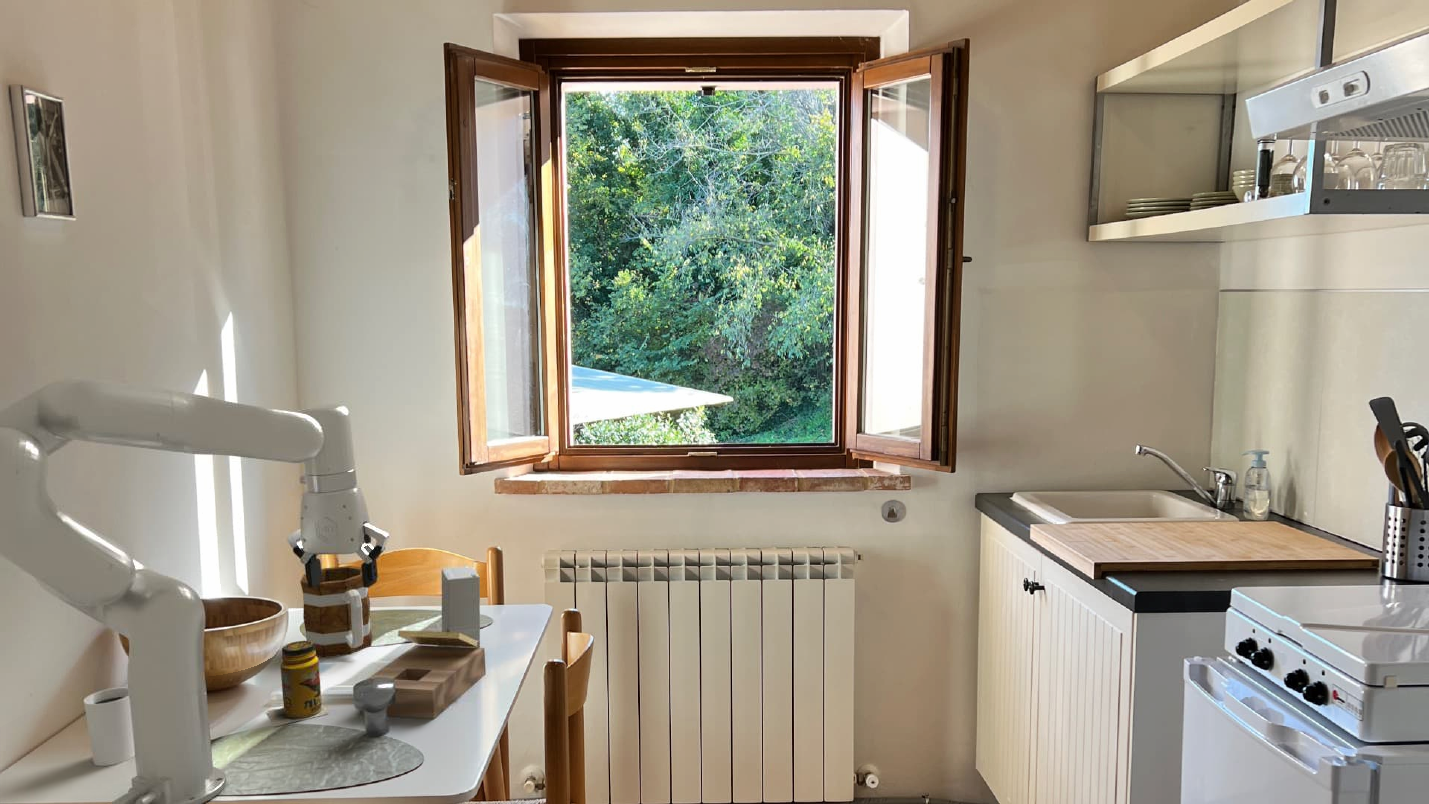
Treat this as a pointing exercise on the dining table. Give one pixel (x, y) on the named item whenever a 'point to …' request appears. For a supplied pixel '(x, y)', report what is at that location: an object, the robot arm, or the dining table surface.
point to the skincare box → (461, 602)
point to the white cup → (110, 726)
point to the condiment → (299, 684)
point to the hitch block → (431, 678)
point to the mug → (337, 612)
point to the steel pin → (375, 703)
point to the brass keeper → (439, 638)
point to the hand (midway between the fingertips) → (342, 585)
